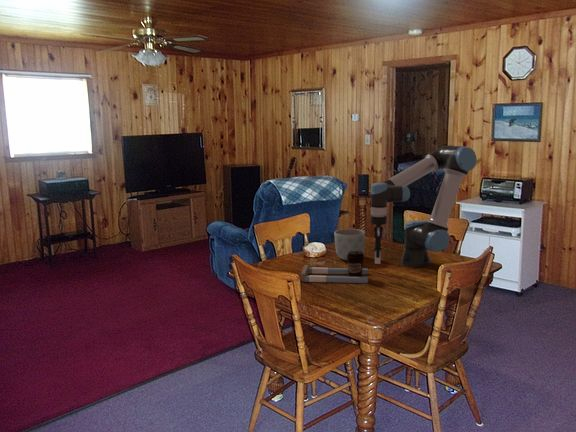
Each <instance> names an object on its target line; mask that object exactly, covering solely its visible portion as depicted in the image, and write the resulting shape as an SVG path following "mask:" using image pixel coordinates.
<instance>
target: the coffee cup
mask: <svg viewBox="0 0 576 432" xmlns="http://www.w3.org/2000/svg"><path fill="white" fill-rule="evenodd" d="M362 253H363V254H362ZM364 258H365V254H364V252H361V251H352V252H348V255H347V260H346V261H347V262H346V263H347V268H348V273H349V274H348V277H363V276H362V275H363V274H362V269H364V268H363V267H364Z"/></svg>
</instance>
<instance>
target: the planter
mask: <svg viewBox="0 0 576 432" xmlns="http://www.w3.org/2000/svg"><path fill="white" fill-rule="evenodd" d="M333 234H334V246H335V252H336V255H337V256H338V257H339V259H340V260H344V261H347V255H348V252H352V251H361V252H363V253H362V254H364V253H365V252H364V251H365V239H366V231H365V230H362V229H358V228H341V229H337V230H335V231H334V232H333Z"/></svg>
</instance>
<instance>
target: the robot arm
mask: <svg viewBox="0 0 576 432" xmlns="http://www.w3.org/2000/svg"><path fill="white" fill-rule="evenodd" d="M477 161H478V159H477V154H476V151H474V150H473V148H471V147H468V146H465V145H461V146H460V145H445V146H442V147H439V148H437V149H435V150H433V151H432V152H430V153H427V154H426V156H424V158H423V159H421V160H419V161H418V162H416V163H414V164H413V165H411V166H409V167H407V168H406V169H404V170H402V171H401V172H399V173H397V174H395V175H393V176H392V177H389V178H388V179H386V180H384V181H383V182H373V183H372V184H371V188H370V208H369V211H370V224H371V225H375V226H374V227H373V232H374V239H375V240H374V243H375V244H374V249H373V252H374V264H375V265H378V264H379V265H381V256H382V255H381V254H382V253H381V251H382V249H383V248H382V246H381V245H382V243H381V242H382V237H383V227H382V225H386V224H387V218H388V217H387V215H388V212H387V211H388V203H398V202H399V203H402V202H406V201H409V199H410V197H411V191H410V188H409V187H408V186H409V185H411V184H412V183H414V182H416V181H417V180H419V179H421V178H422V177H424V176H426V175H428V174H429V173H431V172H437V171H439V170H441V169H443V171H444V176H443V180H442V181H441V185H440V188H439V191H438V194H437V197H436V200H435V203H434V205H433V209H432V212H431V215H430V217H429V219H427V220H410V221H406V222H405V223H404V249H403V252H402V255H401V259H400V264H401V265H403V266H405V267H409V268H425V267H426V268H427V267H429V266H431V258H430V255H429V251H430V252H434V253H435V252H436V253H439V252H442V251H444V250H445V249H446V248H447V247H448V246H449V244H450V240H451V239H450V234H449V226H448V221H449V219H450V215H451V213H452V211H453V207H454V205H455V201H456V198H457V195H458V193H459V190H460V186H461V183H462V181H463V179H464V178H466V177H468V173H469V172H470V171H472V170H473V169H475V167H476V165H477Z"/></svg>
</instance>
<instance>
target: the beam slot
mask: <svg viewBox="0 0 576 432" xmlns="http://www.w3.org/2000/svg"><path fill="white" fill-rule="evenodd" d="M309 274H310V275H309ZM311 274H313V275H311ZM314 274H322V275H314ZM325 274H327V275H325ZM368 274H369V269H368V268H362V274H361V275H368ZM330 275H331V276H330ZM335 275H337V276H335ZM338 275H341V276H338ZM342 275H343V276H342ZM344 275H349V273H348V267H347V268H345V267H344V268H342V267H340V268H339V267H333V268H332V267H314V266H313V267H309V264H304V266H303V267H302V270H301V273H300V282H301V281H302V282H305V283H306V282H309V283H311V282H312V283H349V284H350V283H354V284H369V277H368V276H362V277H349V276H344Z"/></svg>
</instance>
